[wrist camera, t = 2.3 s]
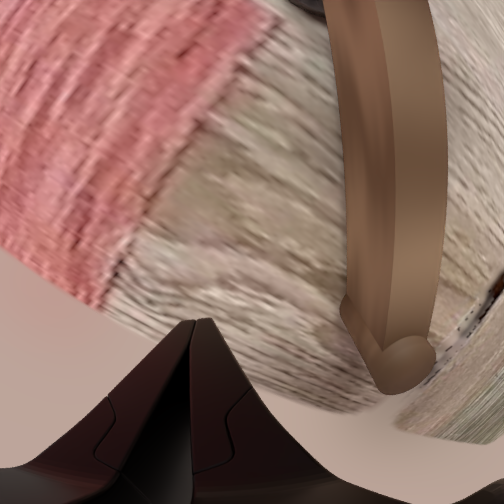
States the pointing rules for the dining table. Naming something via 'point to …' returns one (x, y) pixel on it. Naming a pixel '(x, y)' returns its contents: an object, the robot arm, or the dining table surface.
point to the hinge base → (311, 6)
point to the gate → (391, 180)
